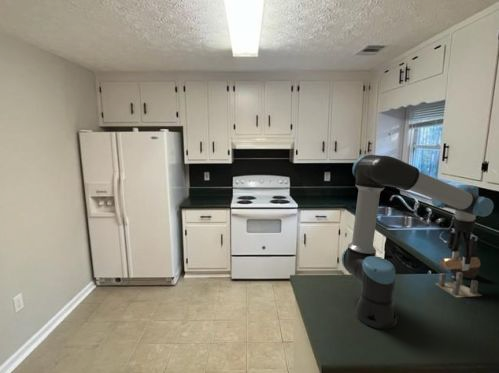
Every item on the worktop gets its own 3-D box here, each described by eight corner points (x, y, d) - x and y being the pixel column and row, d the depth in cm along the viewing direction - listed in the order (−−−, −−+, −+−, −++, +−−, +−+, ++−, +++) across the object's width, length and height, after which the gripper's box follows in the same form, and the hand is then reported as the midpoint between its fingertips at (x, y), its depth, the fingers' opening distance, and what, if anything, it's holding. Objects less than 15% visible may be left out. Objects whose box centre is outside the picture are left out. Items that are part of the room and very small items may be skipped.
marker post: (452, 283, 136) (453, 277, 136) (449, 282, 138) (450, 276, 137) (455, 283, 136) (456, 277, 136) (452, 282, 138) (453, 275, 137)
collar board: (455, 299, 124) (457, 284, 123) (433, 285, 137) (435, 271, 136) (482, 297, 125) (483, 283, 124) (457, 283, 138) (459, 270, 137)
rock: (451, 271, 141) (445, 255, 148) (451, 282, 146) (446, 265, 153) (481, 270, 135) (474, 253, 142) (480, 281, 141) (473, 264, 148)
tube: (471, 267, 132) (469, 256, 133) (481, 268, 127) (479, 256, 128) (441, 269, 130) (439, 258, 131) (449, 270, 125) (447, 258, 126)
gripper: (491, 224, 118) (485, 275, 121) (455, 214, 135) (450, 259, 139) (475, 225, 117) (469, 276, 120) (441, 214, 135) (437, 260, 138)
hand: (459, 267), depth 129 cm, fingers closed on tube, 5 cm apart
